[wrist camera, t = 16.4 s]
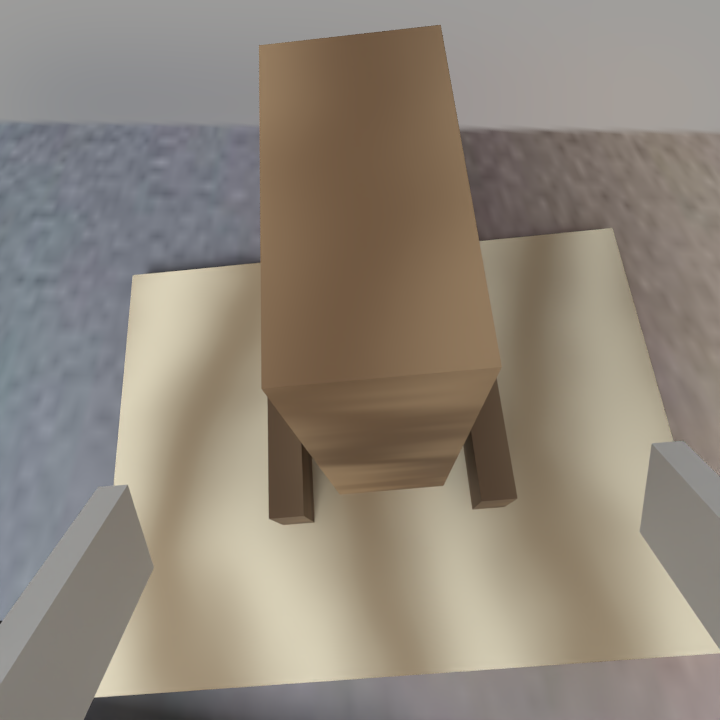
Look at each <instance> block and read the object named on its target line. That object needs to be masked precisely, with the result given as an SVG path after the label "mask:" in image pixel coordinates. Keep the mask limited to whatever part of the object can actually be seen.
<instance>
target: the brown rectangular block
mask: <svg viewBox="0 0 720 720" xmlns="http://www.w3.org/2000/svg"><path fill="white" fill-rule="evenodd" d="M259 91H260V92H259V93H260V94H259V95H260V96H259V99H260V253H261V389H262V390H263V392H264V393H265V394H266V396H267V397H268V398H269V400H270V401H271V402H272V404H273V405H274V406H275V408H276V409H277V411H278V412H279V413H280V415H281V416H282V417H283V419H284V420H285V421H286V423H287V424H288V425H289V427H290V428H291V429H292V431H293V432H294V433H295V435H296V436H297V437H298V439H299V440H300V442H301V443H302V444H303V446H304V447H305V448H306V450H307V451H308V452H309V454H310V455H311V456H312V458H313V459H314V460H315V462H316V463H317V464H318V466H319V467H320V469H321V470H322V471H323V473H324V474H325V475H326V477H327V478H328V479H329V481H330V482H331V483H332V485H333V486H334V487H335V489H336V490H337V491H338V493H339V494H340V495H341V494H353V493H365V492H377V491H389V490H401V489H413V488H425V487H437V486H444V484H445V482H446V480H447V477H448V475H449V473H450V471H451V469H452V467H453V465H454V463H455V461H456V459H457V457H458V455H459V453H460V451H461V449H462V447H463V445H464V443H465V441H466V439H467V437H468V435H469V433H470V431H471V429H472V427H473V425H474V423H475V421H476V418H477V416H478V414H479V412H480V410H481V408H482V406H483V404H484V402H485V400H486V398H487V396H488V394H489V392H490V390H491V388H492V386H493V384H494V382H495V380H496V378H497V376H498V374H499V372H500V370H501V368H502V365H501V360H500V354H499V349H498V343H497V337H496V332H495V326H494V321H493V315H492V309H491V304H490V298H489V293H488V287H487V281H486V276H485V270H484V265H483V259H482V253H481V248H480V242H479V237H478V231H477V226H476V220H475V214H474V209H473V203H472V198H471V192H470V186H469V181H468V175H467V170H466V164H465V158H464V153H463V147H462V142H461V136H460V130H459V125H458V119H457V114H456V108H455V103H454V97H453V91H452V86H451V80H450V75H449V69H448V63H447V58H446V53H445V47H444V41H443V35H442V30H441V25H435V26H427V27H417V28H409V29H400V30H391V31H382V32H374V33H364V34H356V35H347V36H338V37H329V38H320V39H311V40H303V41H294V42H285V43H276V44H268V45H259Z"/></svg>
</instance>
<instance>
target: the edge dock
mask: <svg viewBox="0 0 720 720" xmlns="http://www.w3.org/2000/svg"><path fill="white" fill-rule="evenodd" d="M479 242H480V248H481V253H482V259H483V265H484V270H485V276H486V281H487V287H488V293H489V298H490V304H491V309H492V315H493V321H494V326H495V332H496V337H497V343H498V349H499V354H500V360H501V365H502V368H501V370H500V372H499V374H498V376H497V378H496V380H495V382H494V384H493V386H492V388H491V390H490V392H489V394H488V396H487V398H486V400H485V402H484V404H483V406H482V408H481V410H480V412H479V414H478V416H477V418H476V421H475V423H474V425H473V427H472V429H471V431H470V433H469V435H468V437H467V439H466V441H465V443H464V445H463V447H462V449H461V451H460V453H459V455H458V457H457V459H456V461H455V463H454V465H453V467H452V469H451V471H450V473H449V475H448V477H447V480H446V482H445V484H444V486H437V487H425V488H413V489H401V490H389V491H377V492H365V493H353V494H341V495H340V494H339V493H338V491H337V490H336V489H335V487H334V486H333V485H332V483H331V482H330V481H329V479H328V478H327V477H326V475H325V474H324V473H323V471H322V470H321V469H320V467H319V466H318V464H317V463H316V462H315V460H314V459H313V458H312V456H311V455H310V454H309V452H308V451H307V450H306V448H305V447H304V446H303V444H302V443H301V442H300V440H299V439H298V437H297V436H296V435H295V433H294V432H293V431H292V429H291V428H290V427H289V425H288V424H287V423H286V421H285V420H284V419H283V417H282V416H281V415H280V413H279V412H278V411H277V409H276V408H275V406H274V405H273V404H272V402H271V401H270V400H269V398H268V397H267V396H266V394H265V393H264V392H263V390H262V389H261V263H253V264H243V265H233V266H223V267H213V268H202V269H192V270H182V271H172V272H162V273H152V274H142V275H133V280H132V291H131V302H130V312H129V323H128V334H127V345H126V356H125V367H124V378H123V389H122V400H121V411H120V422H119V433H118V444H117V455H116V466H115V477H114V486H117V485H128V487H129V490H130V493H131V496H132V500H133V503H134V506H135V509H136V512H137V515H138V519H139V522H140V525H141V528H142V531H143V534H144V538H145V541H146V544H147V547H148V550H149V553H150V557H151V560H152V563H153V566H154V568H153V571H152V573H151V575H150V577H149V579H148V581H147V584H146V586H145V588H144V590H143V592H142V594H141V597H140V599H139V601H138V603H137V605H136V607H135V610H134V612H133V614H132V616H131V618H130V620H129V623H128V625H127V627H126V629H125V631H124V633H123V636H122V638H121V640H120V642H119V644H118V646H117V649H116V651H115V653H114V655H113V657H112V659H111V662H110V664H109V666H108V668H107V670H106V673H105V675H104V677H103V679H102V681H101V683H100V686H99V688H98V690H97V692H96V694H95V696H94V698H96V697H110V696H124V695H138V694H152V693H166V692H180V691H194V690H208V689H222V688H236V687H250V686H264V685H279V684H293V683H307V682H321V681H335V680H349V679H363V678H377V677H391V676H405V675H419V674H433V673H447V672H461V671H475V670H489V669H504V668H518V667H532V666H546V665H560V664H574V663H588V662H602V661H616V660H630V659H644V658H658V657H672V656H686V655H700V654H714V653H720V649H719V648H718V646H717V645H716V644H715V642H714V641H713V639H712V638H711V636H710V635H709V633H708V632H707V630H706V629H705V627H704V626H703V624H702V623H701V621H700V620H699V619H698V617H697V616H696V614H695V613H694V611H693V610H692V608H691V607H690V605H689V604H688V602H687V601H686V599H685V598H684V597H683V595H682V594H681V592H680V591H679V589H678V588H677V586H676V585H675V583H674V582H673V580H672V579H671V577H670V576H669V575H668V573H667V572H666V570H665V569H664V567H663V566H662V564H661V563H660V561H659V560H658V558H657V557H656V555H655V554H654V552H653V551H652V550H651V548H650V547H649V545H648V544H647V542H646V541H645V539H644V538H643V536H642V535H641V533H640V525H641V518H642V510H643V503H644V496H645V488H646V481H647V474H648V466H649V459H650V452H651V444H652V443H662V442H674V441H673V438H672V434H671V431H670V427H669V424H668V420H667V417H666V413H665V410H664V406H663V403H662V399H661V396H660V392H659V389H658V385H657V382H656V378H655V375H654V371H653V368H652V364H651V361H650V357H649V354H648V350H647V347H646V343H645V340H644V336H643V333H642V329H641V326H640V322H639V319H638V315H637V312H636V308H635V305H634V301H633V298H632V294H631V291H630V287H629V284H628V281H627V277H626V274H625V270H624V267H623V263H622V260H621V256H620V253H619V249H618V246H617V242H616V239H615V235H614V232H613V228H607V229H597V230H587V231H577V232H567V233H556V234H546V235H536V236H526V237H516V238H506V239H496V240H486V241H479Z"/></svg>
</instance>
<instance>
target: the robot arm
mask: <svg viewBox="0 0 720 720" xmlns="http://www.w3.org/2000/svg"><path fill="white" fill-rule="evenodd" d="M640 533H641V535H642V536H643V538H644V539H645V541H646V542H647V544H648V545H649V547H650V548H651V550H652V551H653V552H654V554H655V555H656V557H657V558H658V560H659V561H660V563H661V564H662V566H663V567H664V569H665V570H666V572H667V573H668V575H669V576H670V577H671V579H672V580H673V582H674V583H675V585H676V586H677V588H678V589H679V591H680V592H681V594H682V595H683V597H684V598H685V599H686V601H687V602H688V604H689V605H690V607H691V608H692V610H693V611H694V613H695V614H696V616H697V617H698V619H699V620H700V621H701V623H702V624H703V626H704V627H705V629H706V630H707V632H708V633H709V635H710V636H711V638H712V639H713V641H714V642H715V644H716V645H717V646H718V648H719V649H720V476H719V475H717V474H716V473H715V472H714V471H713V470H712V469H711V468H710V467H709V466H708V465H707V464H706V463H705V462H704V461H703V460H702V459H701V458H700V457H699V456H698V455H697V454H696V453H695V452H694V451H693V450H692V449H691V448H690V447H689V446H688V445H687V444H686V443H685V442H684V441H675V442H662V443H652V444H651V452H650V459H649V466H648V474H647V481H646V488H645V496H644V503H643V510H642V518H641V525H640ZM153 568H154V566H153V563H152V560H151V557H150V553H149V550H148V547H147V544H146V541H145V538H144V534H143V531H142V528H141V525H140V522H139V519H138V515H137V512H136V509H135V506H134V503H133V500H132V496H131V493H130V490H129V487H128V485H117V486H104V487H98V488H97V489H96V491H95V492H94V494H93V495H92V496H91V498H90V499H89V501H88V502H87V503H86V505H85V506H84V508H83V509H82V510H81V512H80V513H79V515H78V516H77V517H76V519H75V520H74V522H73V523H72V524H71V526H70V527H69V529H68V530H67V531H66V533H65V534H64V536H63V537H62V538H61V540H60V541H59V543H58V544H57V545H56V547H55V548H54V550H53V551H52V552H51V554H50V555H49V557H48V558H47V559H46V561H45V562H44V564H43V565H42V566H41V568H40V569H39V571H38V572H37V573H36V575H35V576H34V578H33V579H32V580H31V582H30V583H29V585H28V586H27V587H26V589H25V590H24V592H23V593H22V594H21V596H20V597H19V599H18V600H17V601H16V603H15V604H14V606H13V607H12V608H11V610H10V611H9V613H8V614H7V615H6V617H5V618H4V620H3V621H0V720H84V718H85V716H86V714H87V712H88V709H89V707H90V705H91V703H92V701H93V699H94V696H95V694H96V692H97V690H98V688H99V686H100V683H101V681H102V679H103V677H104V675H105V673H106V670H107V668H108V666H109V664H110V662H111V659H112V657H113V655H114V653H115V651H116V649H117V646H118V644H119V642H120V640H121V638H122V636H123V633H124V631H125V629H126V627H127V625H128V623H129V620H130V618H131V616H132V614H133V612H134V610H135V607H136V605H137V603H138V601H139V599H140V597H141V594H142V592H143V590H144V588H145V586H146V584H147V581H148V579H149V577H150V575H151V573H152V571H153Z"/></svg>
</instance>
